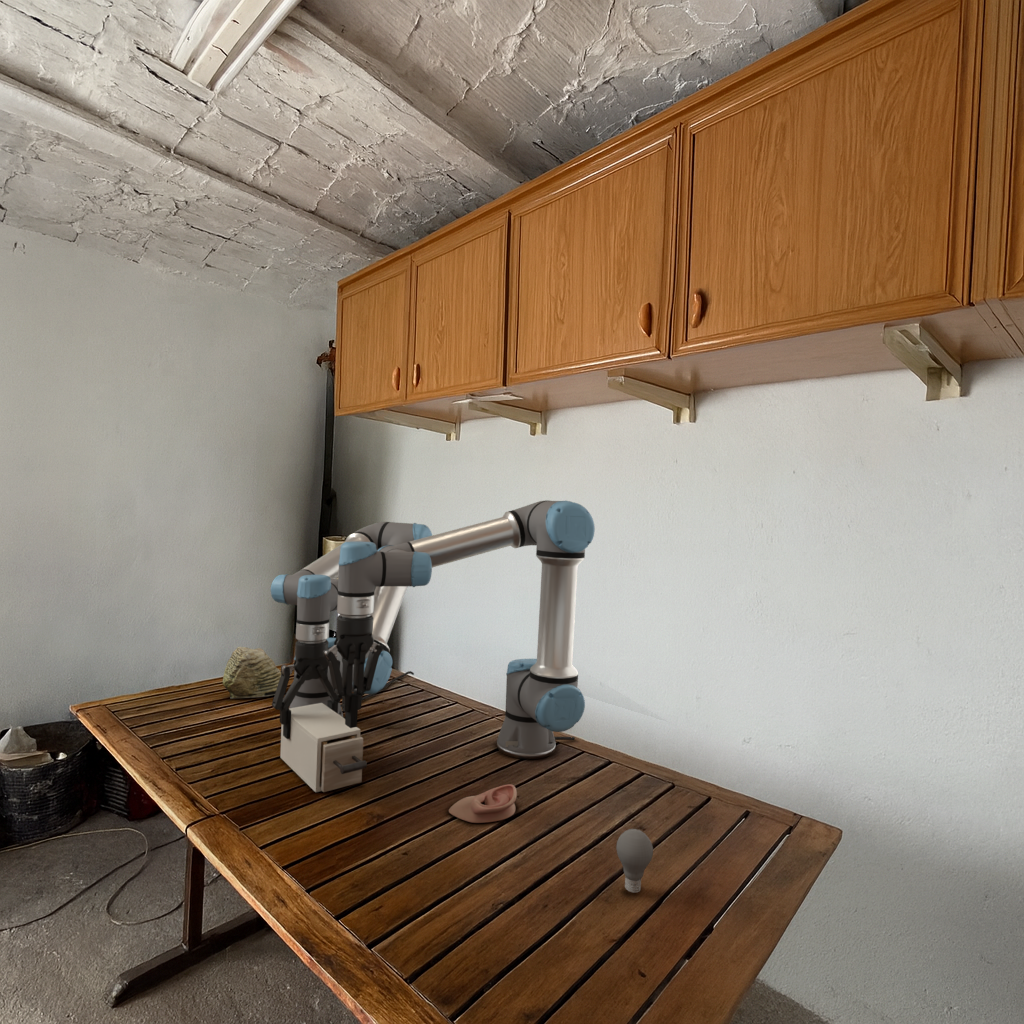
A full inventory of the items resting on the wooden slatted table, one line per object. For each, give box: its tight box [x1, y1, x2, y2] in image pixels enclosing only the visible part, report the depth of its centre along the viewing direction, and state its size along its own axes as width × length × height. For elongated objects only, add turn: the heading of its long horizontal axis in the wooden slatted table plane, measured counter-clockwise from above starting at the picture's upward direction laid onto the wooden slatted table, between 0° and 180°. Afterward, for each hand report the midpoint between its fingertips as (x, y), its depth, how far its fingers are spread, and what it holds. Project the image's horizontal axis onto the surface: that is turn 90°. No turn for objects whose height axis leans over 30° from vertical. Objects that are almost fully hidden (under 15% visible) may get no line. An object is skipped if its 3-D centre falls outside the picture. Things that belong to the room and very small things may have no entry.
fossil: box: [222, 646, 281, 699], centre depth 198 cm, size 9×18×15 cm, turn 132°
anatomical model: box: [448, 783, 518, 824], centre depth 131 cm, size 13×4×12 cm
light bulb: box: [615, 828, 654, 894], centre depth 106 cm, size 6×6×10 cm
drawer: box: [320, 735, 368, 793], centre depth 142 cm, size 26×9×10 cm, turn 39°
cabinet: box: [279, 703, 361, 793], centre depth 147 cm, size 22×10×12 cm, turn 39°
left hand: (308, 732), depth 152 cm, fingers closed on cabinet, 10 cm apart
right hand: (351, 725), depth 134 cm, fingers closed
